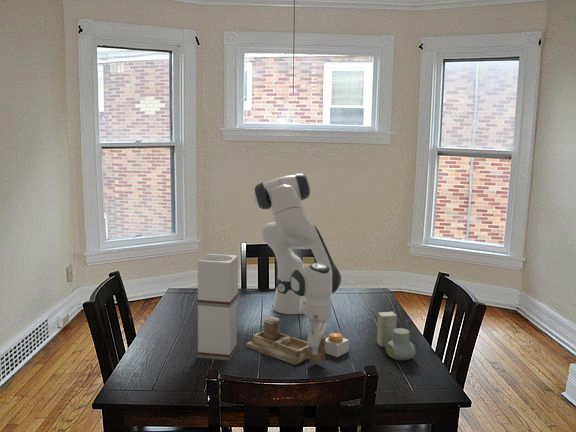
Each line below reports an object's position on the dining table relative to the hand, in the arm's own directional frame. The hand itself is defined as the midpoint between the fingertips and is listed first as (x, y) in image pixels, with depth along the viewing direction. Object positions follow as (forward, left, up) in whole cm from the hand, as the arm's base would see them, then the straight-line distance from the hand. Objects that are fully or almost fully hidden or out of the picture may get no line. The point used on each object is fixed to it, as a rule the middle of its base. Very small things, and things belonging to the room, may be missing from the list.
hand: (317, 349), depth 197 cm
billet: (0, 0, -4) cm, 4 cm away
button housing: (-14, -2, -6) cm, 15 cm away
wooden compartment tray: (-2, -17, -6) cm, 18 cm away
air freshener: (-26, +18, -6) cm, 32 cm away
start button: (-14, -2, -3) cm, 14 cm away
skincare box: (-33, +8, -6) cm, 34 cm away
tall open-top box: (+16, -32, -6) cm, 36 cm away
